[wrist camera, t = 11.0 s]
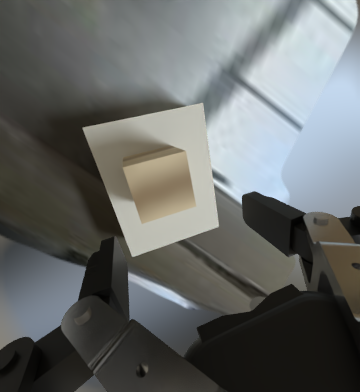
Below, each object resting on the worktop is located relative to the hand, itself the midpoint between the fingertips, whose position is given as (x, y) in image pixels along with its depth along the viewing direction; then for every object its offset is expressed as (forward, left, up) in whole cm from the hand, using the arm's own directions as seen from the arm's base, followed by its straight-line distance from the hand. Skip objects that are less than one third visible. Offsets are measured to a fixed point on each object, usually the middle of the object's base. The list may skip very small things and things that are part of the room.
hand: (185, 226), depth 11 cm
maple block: (0, 0, -14) cm, 14 cm away
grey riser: (+2, +1, -19) cm, 19 cm away
